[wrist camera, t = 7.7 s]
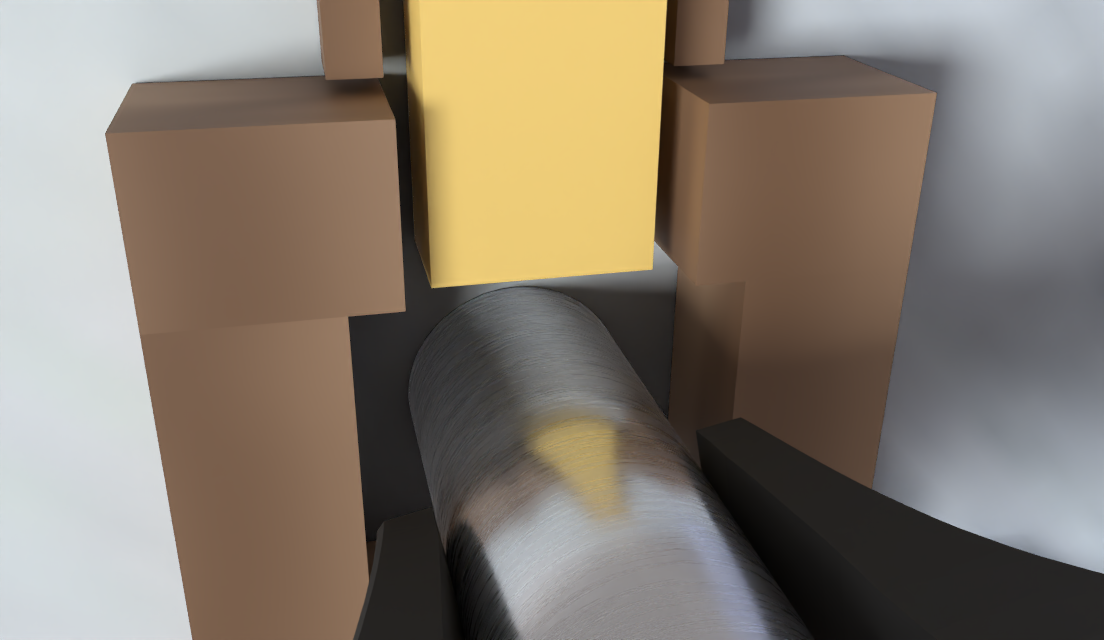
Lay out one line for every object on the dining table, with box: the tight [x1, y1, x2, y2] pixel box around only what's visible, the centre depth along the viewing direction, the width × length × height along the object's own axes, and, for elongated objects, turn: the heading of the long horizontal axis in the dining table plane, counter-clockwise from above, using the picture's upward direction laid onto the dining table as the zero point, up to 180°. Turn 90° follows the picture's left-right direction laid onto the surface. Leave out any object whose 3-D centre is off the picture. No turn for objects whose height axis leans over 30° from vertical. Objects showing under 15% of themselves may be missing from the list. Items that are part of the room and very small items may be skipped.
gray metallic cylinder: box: [409, 287, 815, 640], centre depth 13 cm, size 3×3×9 cm
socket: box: [105, 0, 937, 640], centre depth 15 cm, size 10×15×2 cm, turn 179°
